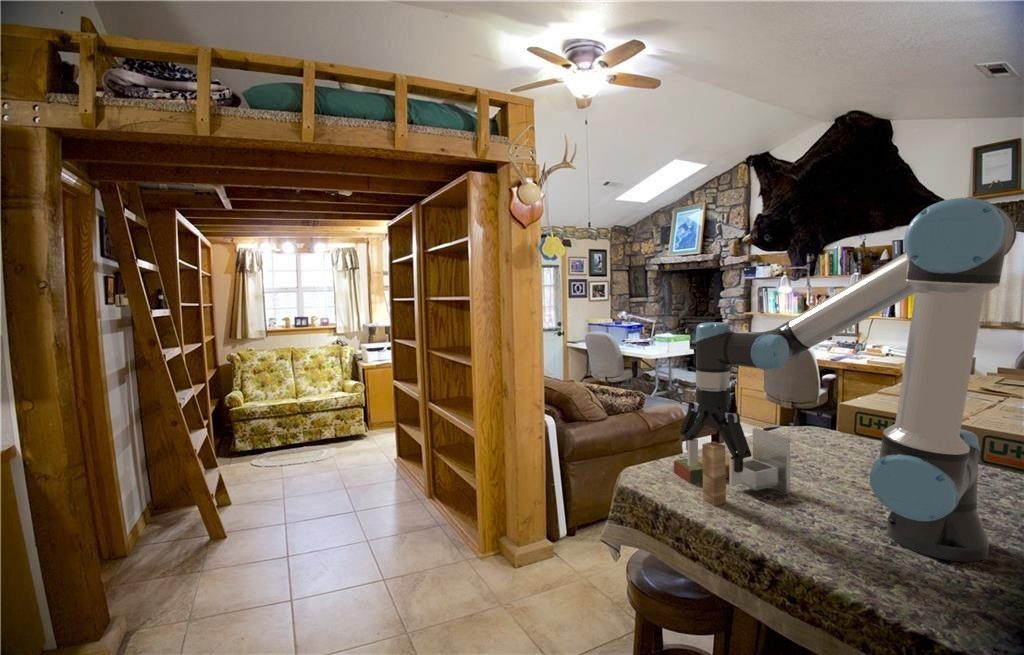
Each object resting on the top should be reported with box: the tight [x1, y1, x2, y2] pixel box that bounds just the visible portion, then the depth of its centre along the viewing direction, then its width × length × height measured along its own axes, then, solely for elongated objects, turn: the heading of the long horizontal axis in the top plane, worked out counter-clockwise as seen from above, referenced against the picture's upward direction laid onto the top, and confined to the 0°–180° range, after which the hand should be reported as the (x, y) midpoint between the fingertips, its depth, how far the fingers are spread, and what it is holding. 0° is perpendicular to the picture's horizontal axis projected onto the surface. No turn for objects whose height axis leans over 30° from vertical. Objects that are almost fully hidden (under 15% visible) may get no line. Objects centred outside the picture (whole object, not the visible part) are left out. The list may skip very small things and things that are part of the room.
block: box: [701, 441, 727, 507], centre depth 118 cm, size 4×4×14 cm
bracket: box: [740, 427, 791, 495], centre depth 123 cm, size 10×10×14 cm
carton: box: [673, 453, 731, 485], centre depth 134 cm, size 8×16×4 cm, turn 102°
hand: (712, 474), depth 118 cm, fingers open, 13 cm apart
